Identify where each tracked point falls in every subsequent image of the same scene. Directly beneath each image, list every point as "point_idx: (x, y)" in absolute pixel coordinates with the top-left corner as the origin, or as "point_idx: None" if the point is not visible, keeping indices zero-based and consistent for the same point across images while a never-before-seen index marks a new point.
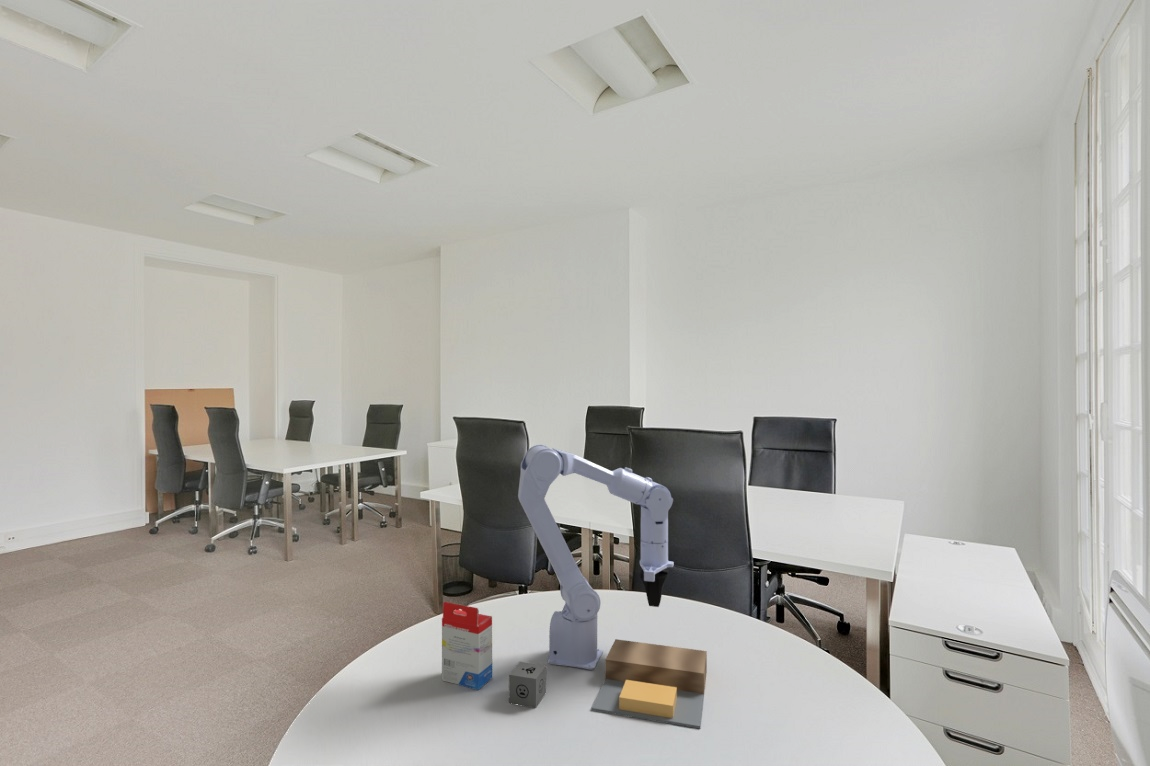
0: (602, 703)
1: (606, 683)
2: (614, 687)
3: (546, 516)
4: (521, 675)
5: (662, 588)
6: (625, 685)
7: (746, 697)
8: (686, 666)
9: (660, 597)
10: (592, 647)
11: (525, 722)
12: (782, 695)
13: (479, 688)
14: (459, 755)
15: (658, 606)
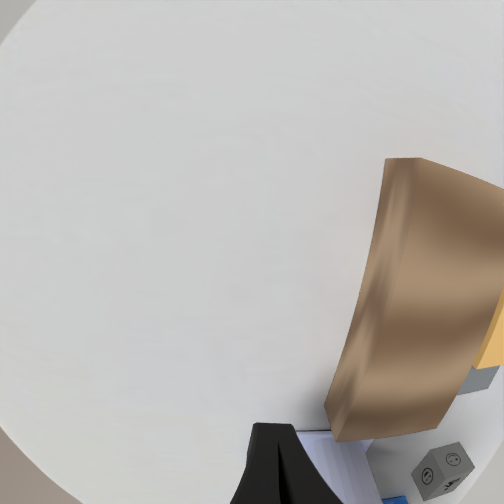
0: (483, 379)
1: None
2: None
3: None
4: (460, 482)
5: (275, 499)
6: (491, 364)
7: (473, 89)
8: (499, 243)
9: (310, 462)
10: (361, 461)
11: (479, 435)
12: (443, 10)
13: (404, 496)
14: (498, 447)
15: (292, 426)
